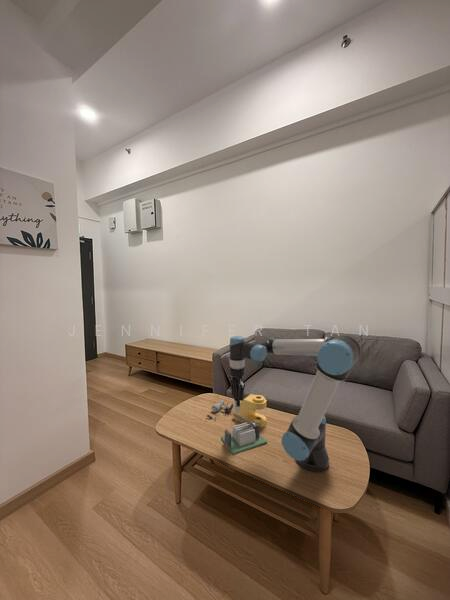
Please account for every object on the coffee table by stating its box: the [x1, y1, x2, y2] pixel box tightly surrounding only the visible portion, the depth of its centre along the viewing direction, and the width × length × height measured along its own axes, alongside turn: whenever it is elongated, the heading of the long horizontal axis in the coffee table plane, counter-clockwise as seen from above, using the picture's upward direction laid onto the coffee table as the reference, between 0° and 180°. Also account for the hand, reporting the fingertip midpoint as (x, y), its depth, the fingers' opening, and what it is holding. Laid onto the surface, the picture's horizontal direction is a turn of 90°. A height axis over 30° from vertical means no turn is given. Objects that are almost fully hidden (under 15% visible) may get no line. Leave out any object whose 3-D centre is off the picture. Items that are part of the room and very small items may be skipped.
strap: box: [232, 413, 256, 427], centre depth 130 cm, size 15×4×1 cm
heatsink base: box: [220, 421, 268, 455], centre depth 130 cm, size 20×14×8 cm
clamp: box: [232, 393, 267, 429], centre depth 149 cm, size 20×9×16 cm, turn 54°
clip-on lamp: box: [205, 399, 234, 420], centre depth 157 cm, size 12×6×18 cm
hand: (236, 411), depth 127 cm, fingers closed
